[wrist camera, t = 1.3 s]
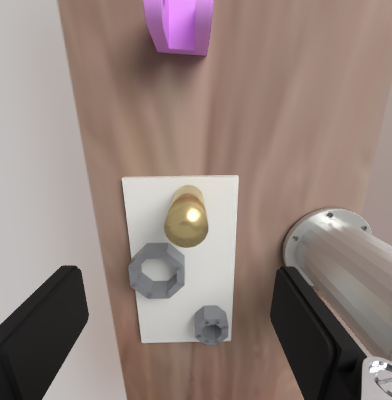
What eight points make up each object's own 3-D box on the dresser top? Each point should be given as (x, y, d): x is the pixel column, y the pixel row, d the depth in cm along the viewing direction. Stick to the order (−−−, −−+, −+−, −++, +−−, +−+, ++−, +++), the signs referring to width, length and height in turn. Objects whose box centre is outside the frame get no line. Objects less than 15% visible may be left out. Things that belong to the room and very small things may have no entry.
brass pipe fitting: (208, 191, 27) (215, 215, 18) (197, 217, 28) (199, 253, 19) (179, 180, 26) (172, 200, 17) (169, 207, 27) (158, 239, 19)
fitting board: (236, 175, 27) (243, 180, 24) (229, 335, 35) (233, 356, 32) (124, 176, 27) (114, 182, 24) (143, 337, 35) (137, 358, 32)
